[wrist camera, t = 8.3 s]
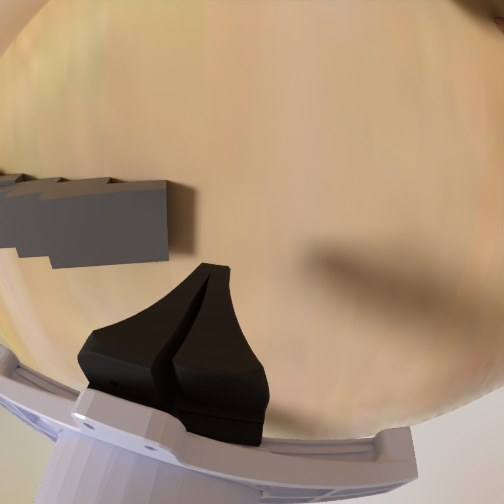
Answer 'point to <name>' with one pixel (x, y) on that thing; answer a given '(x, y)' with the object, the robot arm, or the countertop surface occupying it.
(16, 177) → the domino
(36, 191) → the domino
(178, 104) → the countertop surface
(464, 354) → the countertop surface
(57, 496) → the robot arm
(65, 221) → the domino
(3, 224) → the domino
